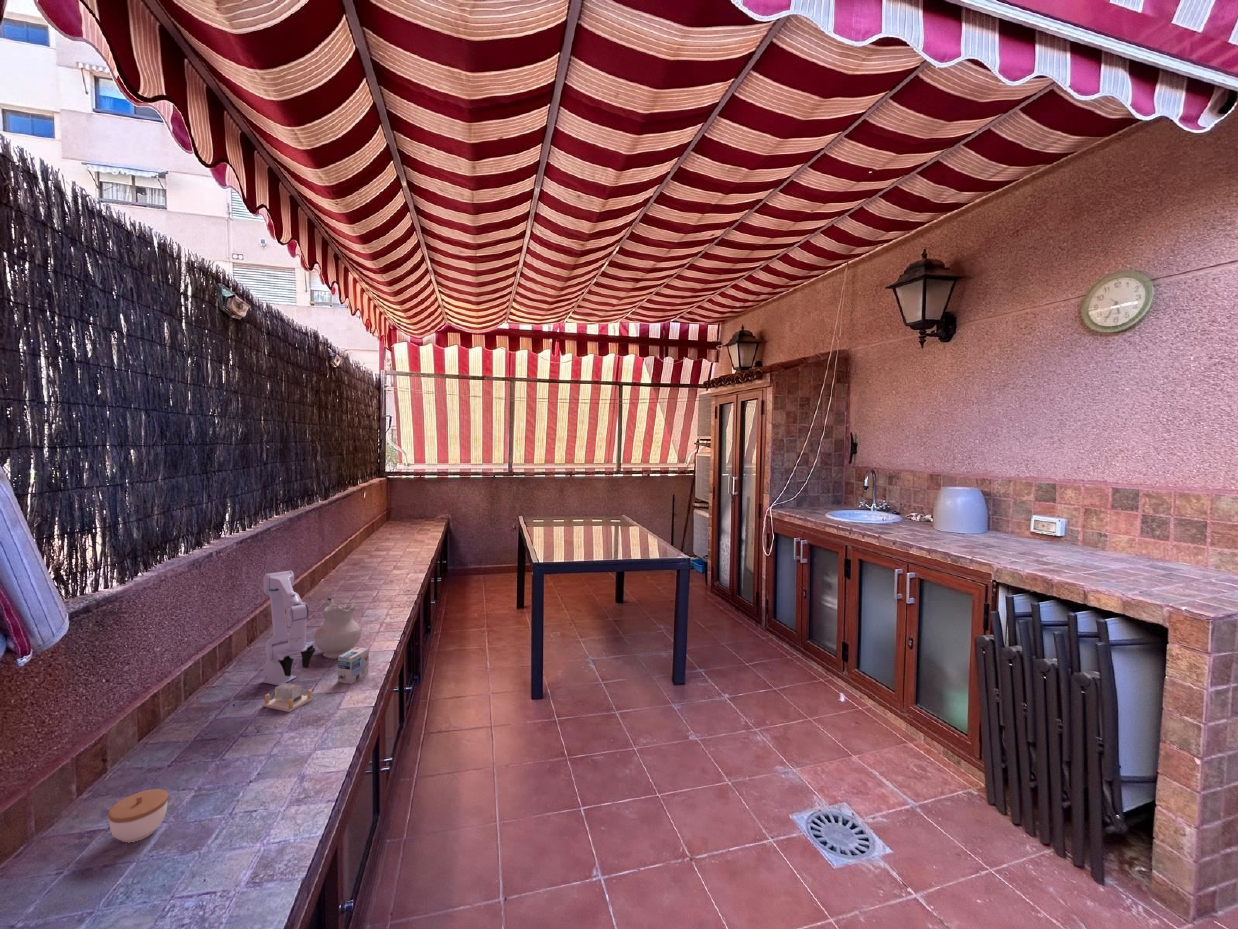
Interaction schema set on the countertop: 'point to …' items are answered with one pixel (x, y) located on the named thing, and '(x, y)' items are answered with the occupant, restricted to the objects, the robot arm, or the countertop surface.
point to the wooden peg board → (289, 706)
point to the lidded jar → (138, 815)
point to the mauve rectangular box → (288, 693)
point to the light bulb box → (353, 665)
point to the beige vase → (337, 630)
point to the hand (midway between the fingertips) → (296, 671)
